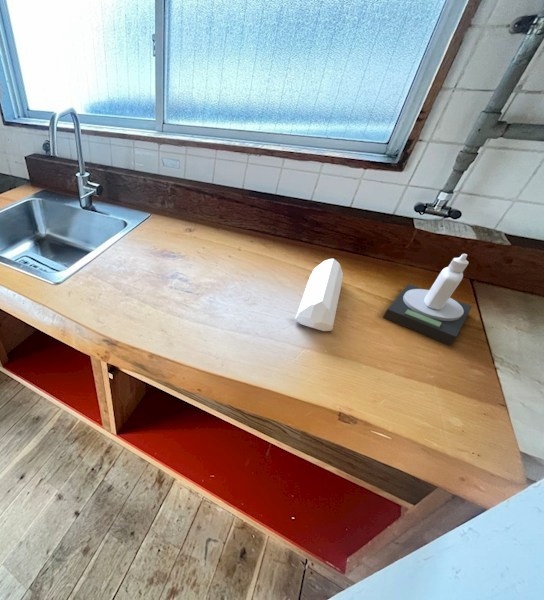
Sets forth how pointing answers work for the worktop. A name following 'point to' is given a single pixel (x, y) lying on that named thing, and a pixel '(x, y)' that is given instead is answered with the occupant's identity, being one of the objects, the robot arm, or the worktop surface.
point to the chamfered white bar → (321, 296)
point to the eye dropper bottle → (446, 283)
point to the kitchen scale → (428, 315)
